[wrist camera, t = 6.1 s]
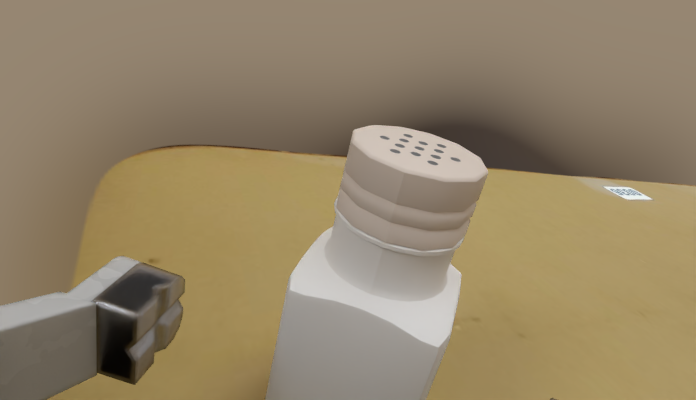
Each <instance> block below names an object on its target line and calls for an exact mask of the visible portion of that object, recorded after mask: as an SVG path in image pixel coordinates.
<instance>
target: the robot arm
mask: <svg viewBox="0 0 696 400" xmlns="http://www.w3.org/2000/svg"><path fill="white" fill-rule="evenodd" d="M184 292H185V279H184V278H183V277H182V276H180V275H177V274H174V273H171V272H168V271H166V270H163V269H160V268H157V267H154V266H151V265H149V264H146V263H141V262H139V261H136V260H133V259H131V258H128V257H125V256H119V257H115V258H114V259H113V260H111V261H110V262H109V263H107V264H106V265H105V266H103V267H102V268H101V269H99V270H98V271H96V272H95V273H94V274H92V275H91V276H90V277H88V278H87V279H86V280H84V281H83V282H82V283H80V284H79V285H78V286H76V287H75V288H73V289H72V290H71V291H69V292H68V293H67V294H66V293H62V292H57V293H52V294H48V295H44V296H40V297H35V298H32V299H27V300H23V301H19V302H15V303H10V304H6V305H2V306H0V400H46V399H48V398H50V397H52V396H54V395H56V394H58V393H61V392H63V391H65V390H67V389H69V388H71V387H73V386H75V385H77V384H79V383H81V382H83V381H85V380H87V379H90V378H92V377H94V376H96V375H97V373H99V374H103V375H106V376H109V377H112V378H115V379H118V380H121V381H124V382H127V383H130V384H133V385H135V384H136V383H137V382H138V381H139V379H140V378H141V377H142V376H143V375H144V374H145V372H146V371H147V370H148V369H149V368H150V367H151V365H152V364H153V363H154V353H155V352H158V351H161V350H163V349H166V348H167V346H168V345H169V344H170V343H171V341H172V340H173V339H174V337H175V335H176V333H177V331H178V329H179V327H180V323H181V320H182V315H183V307H182V305H181V303H180V302H179V300H178V299H179V298H180V297H181V296H182V295H183V293H184ZM550 400H557V399H554V398H551V399H550Z"/></svg>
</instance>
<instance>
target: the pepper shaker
mask: <svg viewBox="0 0 696 400" xmlns="http://www.w3.org/2000/svg"><path fill="white" fill-rule="evenodd" d="M487 175H488V170H487V169H486V167H485V165H484V164H483V162H482V160H481V158H479V157H478V156H476V155H475V154H473V153H471V152H470V151H468V150H466V149H465V148H463V147H462V146H460V145H458V144H456V143H454V142H451V141H448V140H446V139H443V138H440V137H437V136H435V135H432V134H430V133H425V132H421V131H416V130H412V129H408V128H403V127H397V126H381V125H370V126H367V127H363V128H359V129H355V130H354V131H353V133H352V138H351V142H350V147H349V151H348V155H347V160H346V164H345V168H344V173H343V178H342V181H341V185H340V190H339V194H338V197H337V198H336V200H335V203H334V207H335V213H336V217H335V221H334V226H333V227H331V228H329V229H328V230H326V231H325V232H324V233H322V234H321V235H320V236H319V238H318V239H317V240H316V241H315V242H314V243H313V244H312V245H311V247H310V248H309V249H308V251H307V252H306V253H305V254H304V256H303V257H302V259H301V260H300V262H299V263H298V265H297V266H296V268H295V269H294V270H293V272H292V273H291V275H290V277H289V280H288V286H287V291H286V296H285V301H284V306H283V311H282V316H281V321H280V326H279V331H278V336H277V341H276V346H275V351H274V356H273V362H272V367H271V372H270V377H269V382H268V387H267V392H266V397H265V400H426V398H427V395H428V393H429V390H430V388H431V385H432V383H433V380H434V378H435V375H436V373H437V370H438V368H439V365H440V363H441V360H442V358H443V355H444V353H445V350H446V348H447V345H448V343H449V340H450V336H451V332H452V327H453V323H454V319H455V314H456V309H457V304H458V300H459V293H460V286H461V273H460V272H459V271H458V270H457V269H456V268H455V267H453V266H452V265H451V264H450V262H451V260H452V257H453V254H454V252H455V250H456V249H457V248H459V247H460V245H461V243H462V242H463V239H464V236H465V234H466V232H467V229H468V226H469V223H470V219H469V218H471V217H472V215H473V213H474V210H475V207H476V201H477V200H478V199H479V196H480V194H481V191H482V188H483V186H484V183H485V180H486V178H487Z"/></svg>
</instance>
